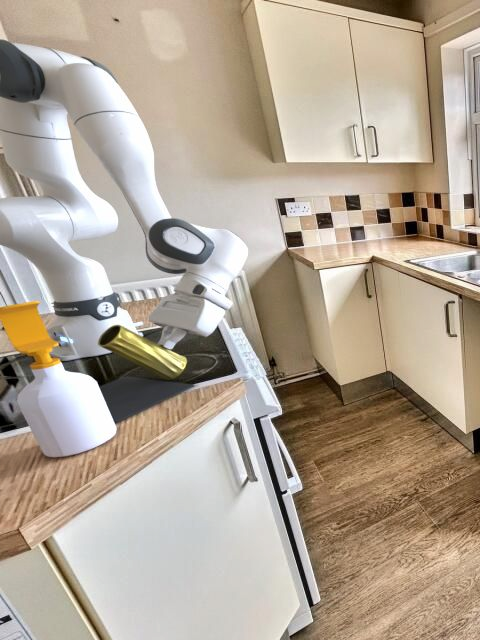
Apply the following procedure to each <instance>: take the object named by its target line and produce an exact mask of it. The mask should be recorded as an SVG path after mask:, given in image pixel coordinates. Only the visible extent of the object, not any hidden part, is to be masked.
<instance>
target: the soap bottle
mask: <svg viewBox="0 0 480 640" xmlns="http://www.w3.org/2000/svg"><path fill="white" fill-rule="evenodd" d="M39 305H40V301H39V300H32V301H27V302H22V303H21V302H20V303H15V304H9V305H4V306H0V323H1V325H2V328H3V327H4V329H3V330H4V331H5V333H6V335H7V337H8V340H9V341H10V343H11V345H12V347H13V348H14V349H15V351H17V352H19V353H20V354H22V355H25V354H26V355H27V357H33V359H34V362H31V364H29V367H30V370H31V372H32V374H33V377H34V379H33V380H32V381H31V382H29V383H28V384H27V385H25V386H24V387H23V389H22V390H20V392H18V394H17V397H16V404H17V406H18V407H19V410H20V411H21V414H22V415H23V417H24V419H25V421H26V423H27V425H28V427H29V429H30V431H31V433H32V434H33V437H34V438H35V441H36V443H37V445H38V446H39V448H40V450H41V452H42V454H44V456H46V457H49V458H62V457H63V458H64V457H70V456H73V455H78V454H81V453H85V452H87V451H90V450H93V449H95V448H97V447H99V446H101V445H103V444H104V443H106V442H108V441H109V440H111V439H112V438H113V437H114V436H115V435H116V433H117V425H116V423H115V422H114V421H113V419H112V416H111V414H110V412H109V409H108V407H107V405H106V402H105V400H104V398H103V395H102V393H101V391H100V388H99V384H98V381H97V380H95V379H94V378H93V377H92V376H90V375H88V374H85V373H81V372H74V371H68V370H65V368H64V364H63V363H62V360H60V359H59V358H53V357H50V355H49V352H51V351H53V350H52V347H56V346H58V345H59V344H58V342H56V341H54V340H52V339H51V338H50V336H49V334H48V332H47V328H46V325H45V324H44V322H43V319H42V317H41V315H40V313H39V310H38V306H39Z"/></svg>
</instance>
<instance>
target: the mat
mask: <svg viewBox="0 0 480 640" xmlns="http://www.w3.org/2000/svg"><path fill="white" fill-rule="evenodd" d="M98 386H99V385H98ZM193 387H195V385H194V384H193V383H185V382H178V381H177V382H176V381H170V380H161V379H153V378H144V377H137V376H129V375H125V376H122V377H119V378H117V379H115V380H113V381H110V382H107V383H104V384H102V385H100V386H99V388H100V391H101V393H102V395H103V398H104V400H105V402H106V405H107V407H108V409H109V412H110V414H111V416H112V419H113V421H114V423H115V424H118V423H120V422H123V421H125V420H127V419H128V418H130V417H133V416H134V415H138V414H139V413H141V412H143V411H145V410H148V409H149V408H152V407H153V406H156V405H158V404H161V403H162V402H164V401H166V400H168V399H170V398H173V397H174V396H177V395H179V394H180V393H183V392H185V391H188V390H189V389H192V388H193Z"/></svg>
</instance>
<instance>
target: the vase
mask: <svg viewBox="0 0 480 640" xmlns="http://www.w3.org/2000/svg"><path fill="white" fill-rule="evenodd" d="M98 345H99V346H100V347H102V348H105V349H107V350H109V351H111V353H113V354H114V355H117V356H119V357H121V358H122V359H125V360H127V361H129V362H130V363H133V364H135V365H136V366H138V367H140V368H142V369H143V370H146V371H149V372H150V373H152V374H154V375H157V376H158V377H160V378H162V379H163V380H164V381H171V380H174V379H175V378H178V376H180V375H181V374H182V373H183V372H184V370H185V369H186V366H187V364H188V359H187V357H186V356H184V355H181V354H178V353H177V352H174V351H172V350H171V349H167V348H164V347H162V346H160V345H158V343H156V342H154V341H151V340H149V339H148V338H146V337H144V336H143V337H142V336H140V335H138V334H136V333H134V332H132V331H131V330H129V329H127V328H125V327H123V326H121V325H114V326H111V327H110V328H108V329H107V330H106V331H105V332H104V333H103V334H102V335H101V336H100V338H99V340H98Z"/></svg>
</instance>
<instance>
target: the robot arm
mask: <svg viewBox="0 0 480 640" xmlns="http://www.w3.org/2000/svg"><path fill="white" fill-rule="evenodd" d="M68 116H69V118H70V120H71V122H72V124H73V125H74V128H75V130H76V131H77V132H78V134H79V136H80V137H81V139H82V140H83V142H84V143H85V145H86V146H87V148H88V149H89V151H90V152H91V153H92V155H93V156H94V157H95V158H96V160H97V161H98V163H99V164H100V165H101V166H102V167H103V168H104V170H105V172H106V173H107V174H108V175H109V177H110V178H111V179H112V181H113V182H114V184H115V185H116V186H117V188H118V189H119V191H121V193H122V195H123V197H124V199H125V200H126V202H127V204H128V206H129V207H130V209H131V211H132V213H133V215H134V216H135V218H136V220H137V223H138V224H139V226H140V228H141V230H142V232H143V234H144V238H145V256H146V258H147V260H148V262H149V263H150V265H152V266H153V267H154V268H155V269H157V270H159V271H160V272H163V273H166V274H170V275H171V274H172V275H182V274H183V275H182V276H181V277H180V279H179V281H178V282H177V284H176V285H175V287H174V288H173V292H174V293H171V294H167V295H165V296H164V297H163V298H162V299H161V300H160V301H159V303H158V304H157V305H156V306H155V307H154V309H153V310H152V312H151V313H150V314H149V316H148V322H150V323H151V324H154V325H155V326H158V327H161V328H163V329H162V331H161V335H160V338H159V340H158V342H157V344H158V345H160V346H162V347H164V348H166V349H168V350H173V349H174V347H175V346H176V344H177V343H178V342H180V341H181V340H182V339H184V338H185V336H186V335H187V334H191V335H195V336H201V337H205V338H207V337H209V336H210V335H211V334H213V333H214V332H215V330H216V329H217V328H218V326H219V324H220V323H221V321H222V319H223V318H224V316H225V314H226V311H229V310H230V309H231V308H232V306H233V301H232V300H230V299H229V298H228V297H227V296H226V295H227V293H228V291H229V288H230V286H231V283H232V282H233V281H235V280H236V279H237V277H238V276H239V274H240V273H241V271H242V269H243V267H244V265H245V263H246V262H247V260H248V256H249V248H248V246H247V244H246V243H245V241H244V240H243V239H242V238H241V237H240V236H238V235H237V234H236V233H235V232H233V231H231V230H228V229H226V228H224V227H223V228H222V227H221V228H213V227H206V226H200V225H196V224H195V223H194V224H193V223H191V222H188V221H186V220H183V219H180V218H175V217H172V216H171V214H170V212H169V210H168V208H167V206H166V204H165V202H164V201H163V198H162V197H161V195H160V192H159V190H158V189H159V188H158V186H157V182H156V174H155V152H154V149H153V145H152V141H151V138H150V136H149V133H148V131H147V129H146V127H145V124H144V122H143V121H142V119H141V117H140V116H139V114H138V112H137V110H136V108H135V107H134V104H132V102H131V100H130V99H129V98H128V96H127V94H126V93H125V92H124V90H123V89H122V88H121V86H120V85H119V82H118V80H117V78H116V77H115V75H114V74H113V72H112V71H111V70H110V69H109V68H108V67H107V66H106V65H104V64H102V63H100V62H98V61H96V60H94V59H91V58H88V57H86V56H78V55H75V54H72V53H69V52H66V51H62V50H59V49H55V48H50V47H47V46H37V45H32V44H26V43H19V42H10V41H9V40H5V39H0V143H1V148H2V152H3V156H4V159H5V162H6V164H7V165H8V166H9V167H10V168H11V170H12V171H14V172H15V173H17V174H19V175H21V176H23V177H25V178H27V179H29V180H31V181H34V182H36V183H38V185H39V186H40V188H41V191H42V195H32V196H31V195H30V196H7V197H2V198H0V246H2V247H5V248H7V249H10V250H12V251H14V252H16V253H18V254H19V255H21V256H23V257H24V258H25V259H27V260H28V261H29V262H30V263H32V264H33V266H35V268H36V269H37V270H38V271H39V273H40V274H41V275H42V278H43V279H44V281H45V283H46V285H47V287H48V289H49V291H50V294H51V295H52V297H53V300H54V301H53V302H51V303H50V304H51V305H52V306H51V307H52V308H53V310H54V315H56V316H55V318H53V320H52V322H51V323H50V324H49V326H48V327H47V328H46V330H47V332H48V334H49V336H50V338H51V339H52V340H54V341H56V342H58V344H59V345H58V346H56V347H52V350H53V351H51V352H49V355H50V357H51V358H59V359H60V361H61V362H67V361H72V360H78V359H83V358H89V357H90V358H91V357H96V356H102V355H106V354H111V353H112V352H111V351H109V350H107V349H105V348H102V347H100V346H99V345H98V340H99V338H100V336H101V335H102V334H103V333H104V332H105V331H106V330H107V329H108V328H110V327H111V326H114V325H121V326H123V327H125V328H127V329H129V330H131V331H132V332H134V333H136V334H138V335H140V336H142V337H144V334H143V332H141V331H138V330H137V328H136V327H138V326H142V325H143V324H144V323H143V321H139V322H135V323H134V322H133V320H132V317H131V316H130V314H129V312H128V311H127V310H126V309H123V308H122V307H120V306H121V302H120V298H119V297H118V295H117V293H116V292H114V291H113V288H112V285H111V282H110V280H109V278H108V275H107V272H106V269H105V267H104V265H102V264H101V263H100V262H99V261H97V260H95V259H93V258H89V257H88V256H87V257H86V256H82V255H79V254H78V253H76V251H74V250H73V248H72V247H71V246H70V244H69V243H70V242H71V243H72V242H79V241H89V240H96V239H98V238H99V239H100V238H102V237H105V236H108V235H111V234H114V233H115V232H116V231H117V229H118V226H119V217H118V214H117V211H116V209H115V208H114V207H113V206H112V205H111V204H110V203H109V202H108V201H107V200H105V199H104V198H101V197H100V196H98V195H97V194H96V193H95V192H93V191H92V189H90V187H89V186H88V185H87V184H86V182H85V181H84V179H83V177H82V175H81V172H80V170H79V167H78V163H77V160H76V155H75V152H74V147H73V146H74V145H73V141H72V135H71V131H70V127H69V122H68ZM1 330H3V331H4V330H5V329H4V327H3V326H2V327H1Z"/></svg>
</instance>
